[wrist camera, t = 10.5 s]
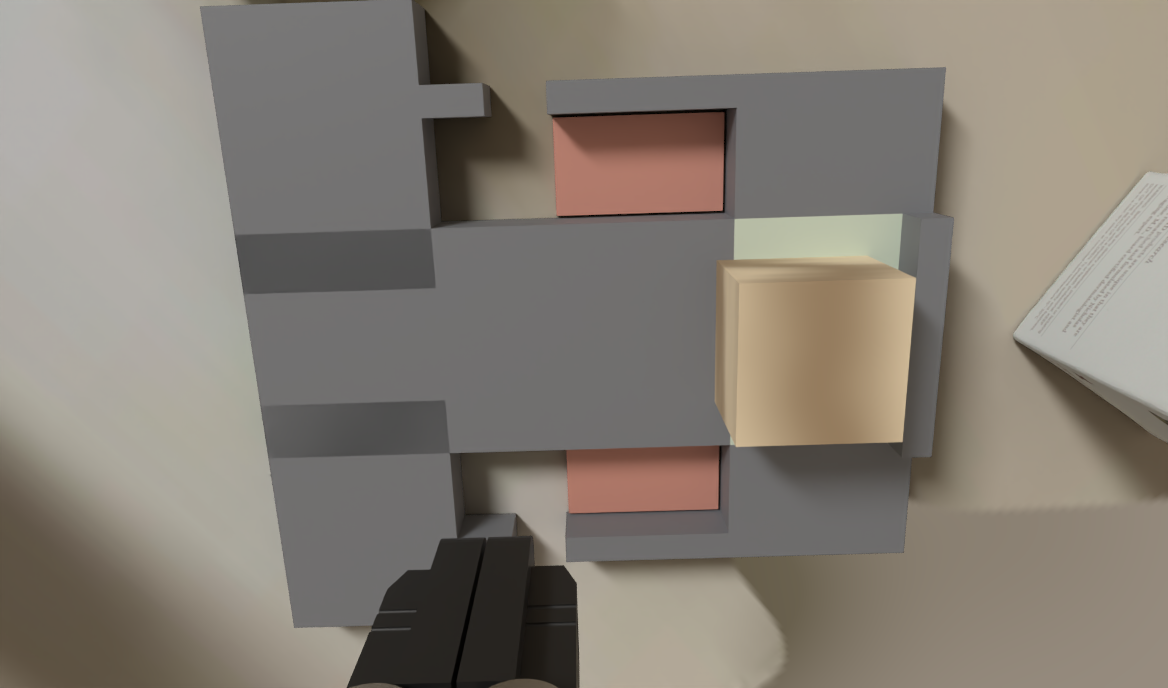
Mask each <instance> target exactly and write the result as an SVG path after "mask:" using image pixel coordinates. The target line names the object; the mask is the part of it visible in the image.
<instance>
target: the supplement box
mask: <svg viewBox="0 0 1168 688" xmlns="http://www.w3.org/2000/svg"><path fill="white" fill-rule="evenodd" d="M1013 337H1014V339H1015V340H1016V341H1018V342H1019V343H1021V344H1023V345H1024V346H1026V347H1028V348H1029V349H1031V350H1032V351H1034V352H1035V353H1037V354H1039V355H1040V356H1042V357H1043V358H1045V359H1046V360H1048V361H1049V362H1051V363H1053V364H1054V365H1055V366H1057V367H1058V368H1060V369H1061V370H1063V371H1064V372H1066V373H1067V374H1069V375H1070V376H1072V377H1073V378H1075V379H1076V380H1077V381H1079V382H1080V383H1082V384H1083V385H1084V386H1086V387H1087V388H1089V389H1090V390H1092V391H1093V392H1094V393H1096V394H1097V395H1099V396H1100V397H1102V398H1103V399H1104V400H1106V401H1107V402H1109V403H1110V404H1111V405H1113V406H1114V407H1116V408H1117V409H1119V410H1120V411H1121V412H1123V413H1124V414H1126V415H1127V416H1128V417H1130V418H1131V419H1132V420H1134V421H1135V422H1136V423H1137V424H1139V425H1140V426H1141V427H1143V428H1144V429H1145V430H1146V431H1148V432H1149V433H1150V434H1152V435H1154V436H1155V437H1157V438H1159V439H1161V440H1163V441H1165V442H1166V443H1168V174H1164V173H1155V172H1151V171H1150V172H1147V173H1146V174H1145V175H1144V176H1143V178H1142V179H1141V180H1140V181H1139V182H1138V183H1137V184H1136V185H1135V187H1134V188H1133V189H1132V190H1131V191H1130V193H1129V194H1128V195H1127V196H1126V197H1125V198H1124V199H1123V201H1122V202H1121V203H1120V204H1119V206H1118V207H1117V208H1116V209H1115V210H1114V211H1113V213H1112V214H1111V215H1110V216H1109V218H1108V219H1107V220H1106V221H1105V222H1104V224H1103V225H1102V226H1101V227H1100V228H1099V229H1098V231H1097V232H1096V233H1095V234H1094V235H1093V236H1092V238H1091V239H1090V240H1089V241H1088V243H1087V244H1086V245H1085V246H1084V247H1083V249H1082V250H1081V251H1080V252H1079V253H1078V255H1077V256H1076V257H1075V258H1074V259H1073V260H1072V262H1071V263H1070V264H1069V265H1068V266H1067V267H1066V269H1065V270H1064V271H1063V272H1062V274H1061V275H1060V276H1059V277H1058V279H1057V280H1056V281H1055V282H1054V283H1053V285H1052V286H1051V287H1050V288H1049V289H1048V290H1047V292H1046V293H1045V294H1044V295H1043V297H1042V298H1041V299H1040V300H1039V302H1038V303H1037V304H1036V305H1035V306H1034V307H1033V309H1032V310H1031V311H1030V312H1029V313H1028V315H1027V316H1026V317H1025V318H1024V320H1023V321H1022V322H1021V324H1020V325H1019V326H1018V328H1017V329H1016V331H1015V332H1014V334H1013Z"/></svg>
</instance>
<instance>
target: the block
mask: <svg viewBox="0 0 1168 688" xmlns="http://www.w3.org/2000/svg"><path fill="white" fill-rule="evenodd" d="M915 286H916V278H915V277H913V276H911V275H908V274H906V273H904V272H902V271H900V270H898V269H895V268H893V267H891V266H889V265H887V264H884V263H882V262H880V261H878V260H876V259H874V258H871V257H869V256H836V257H804V258H772V259H741V260H717V266H716V340H715V404H716V406H717V408H718V410H719V412H720V414H721V416H722V418H723V421H724V423H725V425H726V427H727V429H728V431H729V433H730V436H731V438H732V440H733V442H734V444H735V446H736V447H752V446H786V445H820V444H855V443H889V442H903V431H904V418H905V406H906V394H907V382H908V370H909V358H910V346H911V334H912V322H913V310H914V298H915Z"/></svg>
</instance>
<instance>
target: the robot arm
mask: <svg viewBox="0 0 1168 688" xmlns="http://www.w3.org/2000/svg"><path fill="white" fill-rule="evenodd" d="M347 688H579V640H578V610H577V583H576V582H575V580H574V579H573V578H572V576H571V575H570V573H569V572H568V571H567V569H566V568H565V567H564V565H563V566H535V563H534V545H533V537H532V536H509V537H488V540H486V538H485V537H479V538H444V539H441V540H440V542H439V545H438V548H437V551H436V554H435V557H434V560H433V563H432V566H431V569H429V570H407V571H406V572H405V573H404V574H403V575H402V576H401V577H400V578H399V579H398V580H397V581H395V582H394V583H393V584H392V585H391V586H390V587H389V588H388V589H387V591H386V594H385V596H384V598H383V601H382V603H381V606H380V608H379V614H377V615H376V618H375V620H374V623H373V625H372V630H371V632H369V635H368V637H367V640H366V642H365V645H364V647H363V649H362V652H361V654H360V657H359V659H358V662H357V664H356V666H355V669H354V671H353V674H352V676H351V679H350V681H349V683H348V686H347Z"/></svg>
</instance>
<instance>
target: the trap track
mask: <svg viewBox="0 0 1168 688" xmlns="http://www.w3.org/2000/svg"><path fill="white" fill-rule="evenodd" d="M200 11H201V17H202V24H203V30H204V37H205V43H206V50H207V57H208V63H209V70H210V76H211V83H212V90H213V96H214V103H215V109H216V116H217V122H218V129H219V136H220V142H221V149H222V155H223V162H224V169H225V175H226V182H227V188H228V195H229V201H230V208H231V215H232V221H233V228H234V234H235V241H236V248H237V254H238V261H239V267H240V274H241V280H242V287H243V294H244V300H245V307H246V313H247V320H248V327H249V333H250V340H251V346H252V353H253V359H254V366H255V373H256V379H257V386H258V392H259V399H260V406H261V412H262V419H263V425H264V432H265V438H266V445H267V452H268V458H269V465H270V471H271V478H272V485H273V491H274V498H275V504H276V511H277V517H278V524H279V531H280V537H281V544H282V550H283V557H284V564H285V570H286V577H287V583H288V590H289V596H290V603H291V610H292V616H293V623H294V628H303V627H340V626H372V625H373V623H374V620H375V618H376V615H377V614H379V608H380V606H381V603H382V601H383V598H384V596H385V594H386V591H387V589H388V588H389V587H390V586H391V585H392V584H393V583H394V582H395V581H397V580H398V579H399V578H400V577H401V576H402V575H403V574H404V573H405V572H406V571H407V570H429V569H431V566H432V563H433V560H434V557H435V554H436V551H437V548H438V545H439V542H440V540H441V539H444V538H479V537H485V538H486V540H488V537H509V536H517V524H516V514H482V515H465V507H464V494H463V482H462V470H461V457H460V453H474V452H509V451H543V450H566V453H567V478H568V502H569V512H567V516H566V537H565V539H566V562H584V561H620V560H656V559H693V558H729V557H762V556H763V557H765V556H796V555H797V556H800V555H835V554H836V555H837V554H872V553H903V552H904V543H905V531H906V519H907V508H908V497H909V485H910V474H911V462H912V457H932V446H933V436H934V425H935V415H936V404H937V393H938V383H939V372H940V362H941V351H942V341H943V330H944V319H945V309H946V298H947V288H948V277H949V266H950V256H951V245H952V235H953V224H954V218H953V217H949V216H945V215H941V214H937V213H933V210H934V199H935V187H936V176H937V164H938V153H939V142H940V130H941V119H942V107H943V96H944V84H945V73H946V67H940V68H911V69H881V70H852V71H822V72H792V73H763V74H733V75H704V76H674V77H644V78H615V79H585V80H556V81H546V95H547V114H549V115H561V114H591V113H621V112H651V111H681V110H711V109H726V129H725V192H724V212H722V213H691V214H660V215H629V216H598V217H567V218H535V219H504V220H473V221H441V209H440V196H439V184H438V172H437V159H436V147H435V134H434V122H433V119H441V118H471V117H492V115H491V99H490V86H488V85H486V84H484V83H467V84H437V85H430V72H429V60H428V47H427V35H426V22H425V10H424V8H423V7H422V6H420V5H419V4H417V3H416V2H415V1H413V0H371V1H343V2H314V3H285V4H257V5H228V6H200ZM553 137H554V161H555V185H556V210H557V216H569V215H600V214H631V213H663V212H694V211H723V167H724V112H709V113H679V114H649V115H619V116H589V117H559V118H553ZM836 256H869V257H871V258H874V259H876V260H878V261H880V262H882V263H884V264H887V265H889V266H891V267H893V268H895V269H898V270H900V271H902V272H904V273H906V274H908V275H911V276H913V277H915V278H916V286H915V298H914V310H913V322H912V334H911V346H910V358H909V370H908V382H907V394H906V406H905V418H904V431H903V442H889V443H855V444H820V445H786V446H752V447H736V446H735V444H734V442H733V440H732V438H731V436H730V433H729V431H728V429H727V427H726V425H725V423H724V421H723V418H722V416H721V414H720V412H719V410H718V408H717V406H716V404H715V340H716V266H717V260H741V259H772V258H804V257H836ZM719 445H720V504H719V508H718V488H719Z"/></svg>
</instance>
